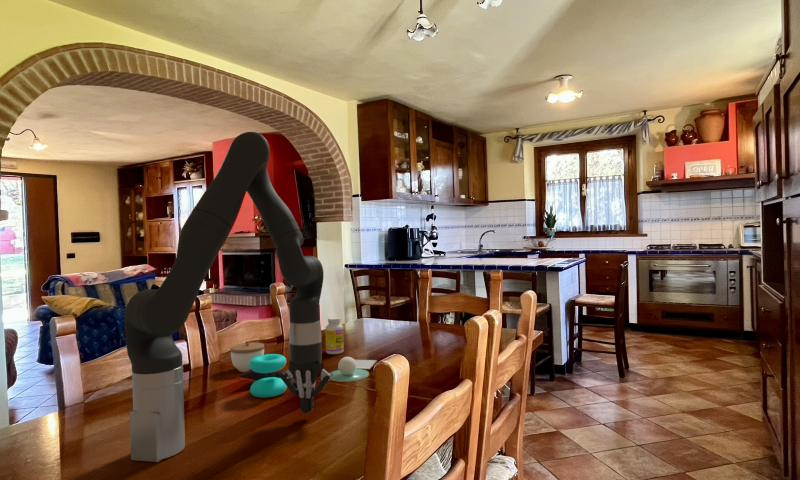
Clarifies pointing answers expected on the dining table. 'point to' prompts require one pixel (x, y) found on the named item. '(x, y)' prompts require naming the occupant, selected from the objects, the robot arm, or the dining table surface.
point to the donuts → (271, 384)
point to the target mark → (349, 376)
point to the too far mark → (364, 364)
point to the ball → (347, 365)
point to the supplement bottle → (334, 336)
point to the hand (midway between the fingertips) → (307, 412)
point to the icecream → (259, 375)
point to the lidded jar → (245, 354)
